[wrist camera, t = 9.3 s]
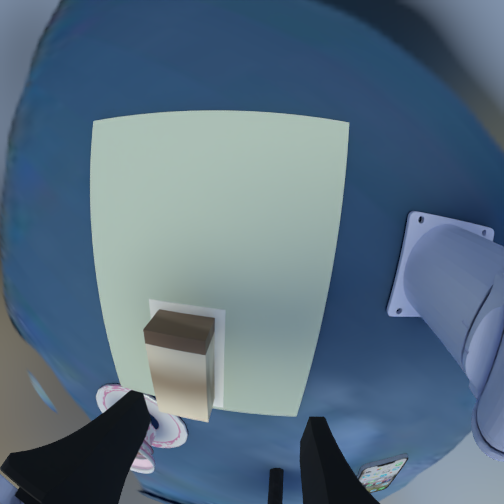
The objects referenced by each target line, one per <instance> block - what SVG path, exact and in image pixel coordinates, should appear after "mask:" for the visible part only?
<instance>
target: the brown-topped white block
mask: <svg viewBox="0 0 504 504" xmlns="http://www.w3.org/2000/svg"><path fill="white" fill-rule="evenodd" d="M143 332H144V339H145V345H146V351H147V357H148V362H149V368H150V373H151V378H152V382H153V387H154V392H155V396H156V400H157V405H158V409H159V412H163V413H167V414H171V415H176V416H180V417H184V418H189V419H194V420H199V421H204V422H208V421H209V418H210V414H211V410H212V407H213V403H214V399H215V376H214V344H215V318H213V317H205V316H199V315H192V314H185V313H179V312H173V311H167V310H161V309H159V310H158V311H157V312H156V314H155V315H154V316H153V318H152V319H151V320H150V321H149V323H148V324H147V325H146V327H145V328H144V329H143Z"/></svg>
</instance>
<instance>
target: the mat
mask: <svg viewBox="0 0 504 504" xmlns="http://www.w3.org/2000/svg"><path fill="white" fill-rule="evenodd" d="M348 134H349V123H348V122H342V121H337V120H330V119H324V118H317V117H309V116H301V115H292V114H282V113H269V112H253V111H178V112H162V113H150V114H140V115H131V116H123V117H116V118H109V119H103V120H97V121H94V122H93V132H92V146H91V167H90V205H91V227H92V240H93V251H94V261H95V269H96V277H97V284H98V290H99V296H100V302H101V307H102V313H103V318H104V323H105V327H106V332H107V336H108V340H109V345H110V349H111V352H112V356H113V360H114V364H115V367H116V371H117V374H118V377H119V381H120V384H121V386H122V387H125V388H128V389H132V390H135V391H138V392H142V393H146V394H149V395H153V396H155V392H154V387H153V382H152V378H151V373H150V368H149V362H148V357H147V351H146V345H145V339H144V332H143V329H144V328H145V327H146V325H147V324H148V323H149V321H150V320H151V319H152V318H153V316H154V315H155V314H156V312H157V311H158V310H159V309H161V310H167V311H173V312H179V313H185V314H192V315H199V316H205V317H213V318H215V344H214V376H215V399H214V403H213V407H212V408H215V409H221V410H228V411H235V412H243V413H252V414H263V415H276V416H297V413H298V409H299V406H300V403H301V400H302V396H303V393H304V389H305V386H306V382H307V379H308V375H309V371H310V368H311V364H312V360H313V356H314V352H315V348H316V344H317V340H318V336H319V332H320V327H321V323H322V318H323V314H324V309H325V304H326V299H327V294H328V289H329V284H330V279H331V273H332V268H333V262H334V256H335V250H336V244H337V237H338V231H339V224H340V216H341V209H342V200H343V192H344V183H345V173H346V162H347V149H348Z"/></svg>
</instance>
